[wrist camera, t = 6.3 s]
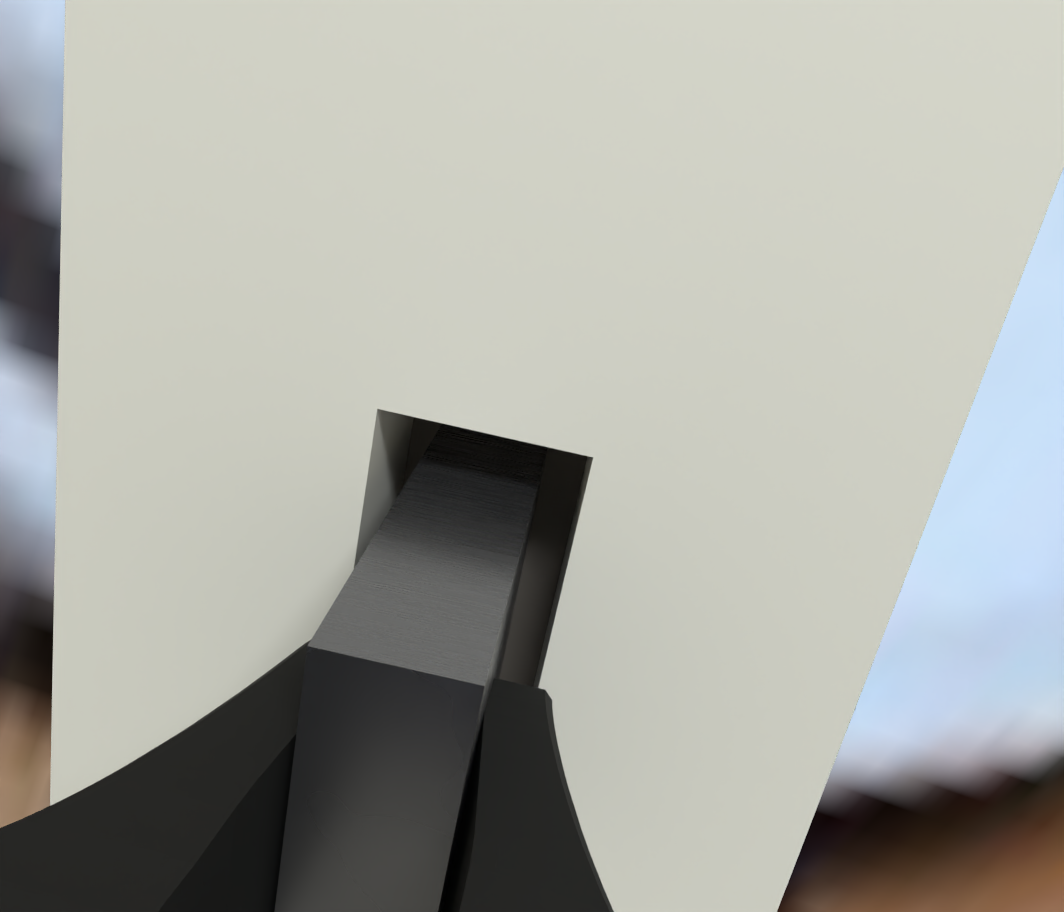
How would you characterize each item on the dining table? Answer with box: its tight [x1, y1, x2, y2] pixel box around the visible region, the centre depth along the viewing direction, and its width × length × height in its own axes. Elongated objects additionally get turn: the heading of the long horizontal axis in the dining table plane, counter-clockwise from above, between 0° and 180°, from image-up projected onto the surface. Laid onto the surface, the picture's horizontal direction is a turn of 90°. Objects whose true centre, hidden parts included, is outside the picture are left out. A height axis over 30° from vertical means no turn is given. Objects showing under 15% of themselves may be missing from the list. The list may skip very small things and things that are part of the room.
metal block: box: [274, 423, 548, 912], centre depth 12 cm, size 5×2×6 cm, turn 169°
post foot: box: [50, 0, 1064, 912], centre depth 14 cm, size 20×10×3 cm, turn 169°
